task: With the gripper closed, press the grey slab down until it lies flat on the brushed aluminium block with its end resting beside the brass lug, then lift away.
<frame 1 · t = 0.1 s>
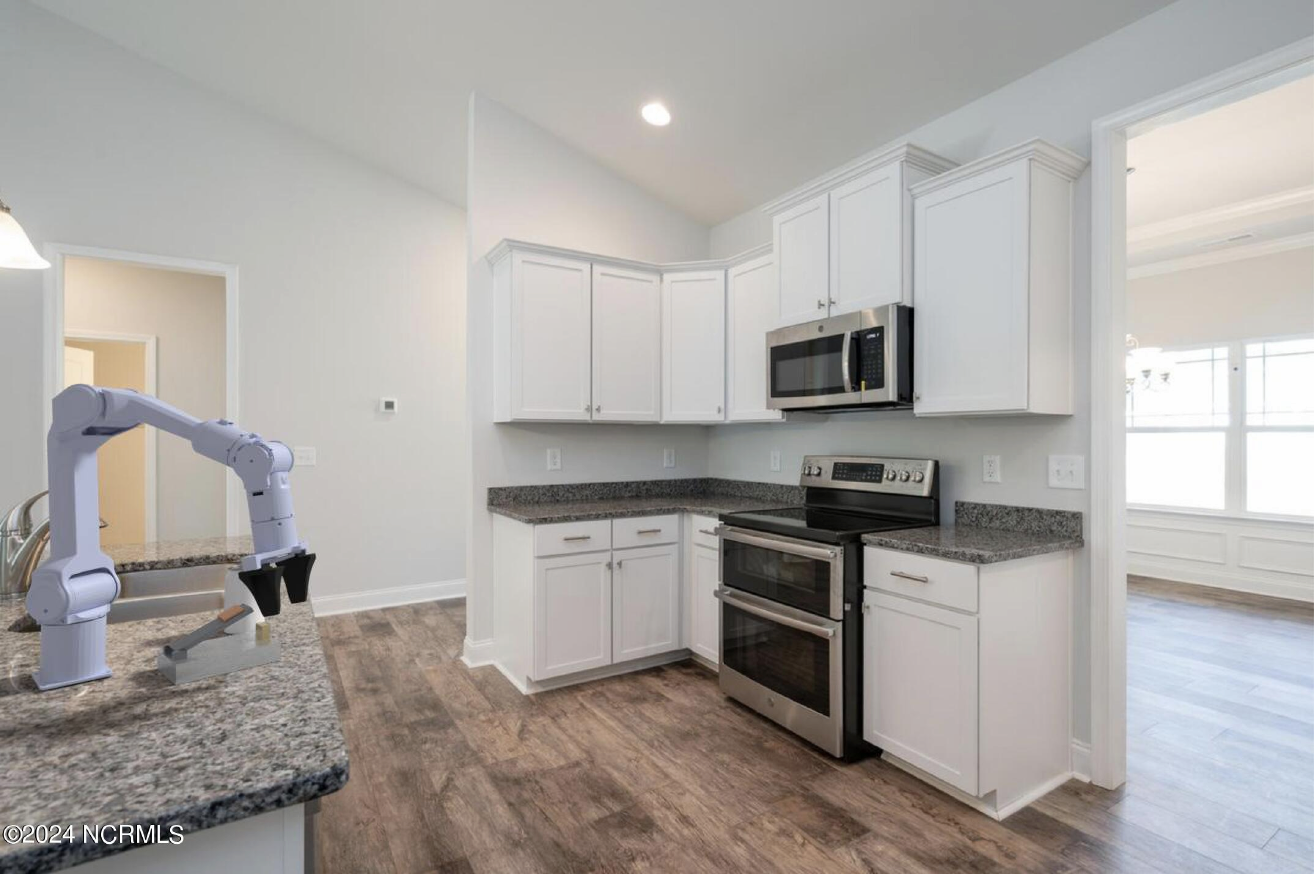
hand: (285, 608, 95), 11 cm above the counter, tool pointing down, fingers open, 7 cm apart
base block: (220, 664, 100), on the counter
grey slab: (211, 626, 99), point 6 cm above the counter, hinge at 25.0°, touching base block
can: (244, 631, 118), on the counter
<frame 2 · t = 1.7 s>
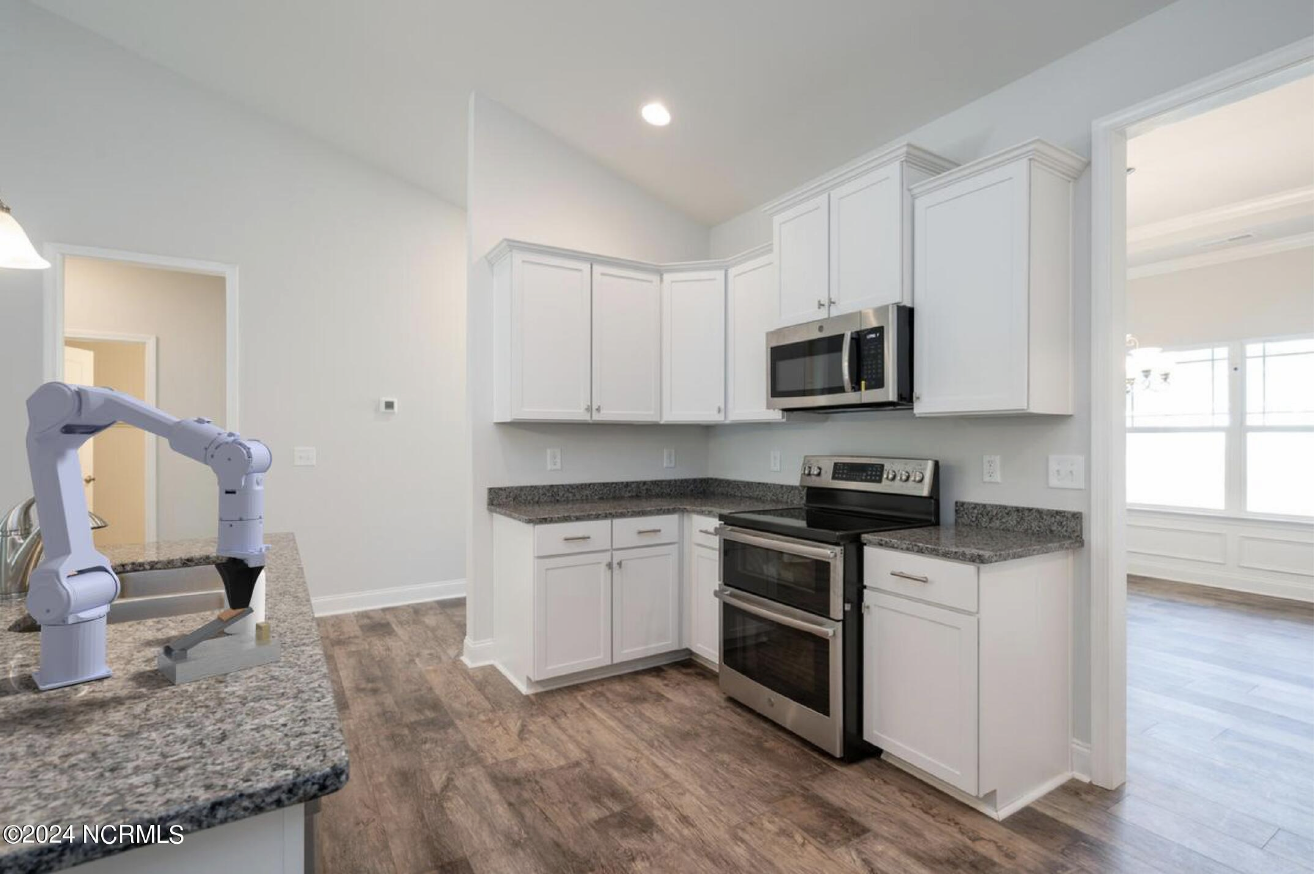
hand: (239, 608, 95), 10 cm above the counter, tool pointing down, fingers closed
nothing on the counter moved.
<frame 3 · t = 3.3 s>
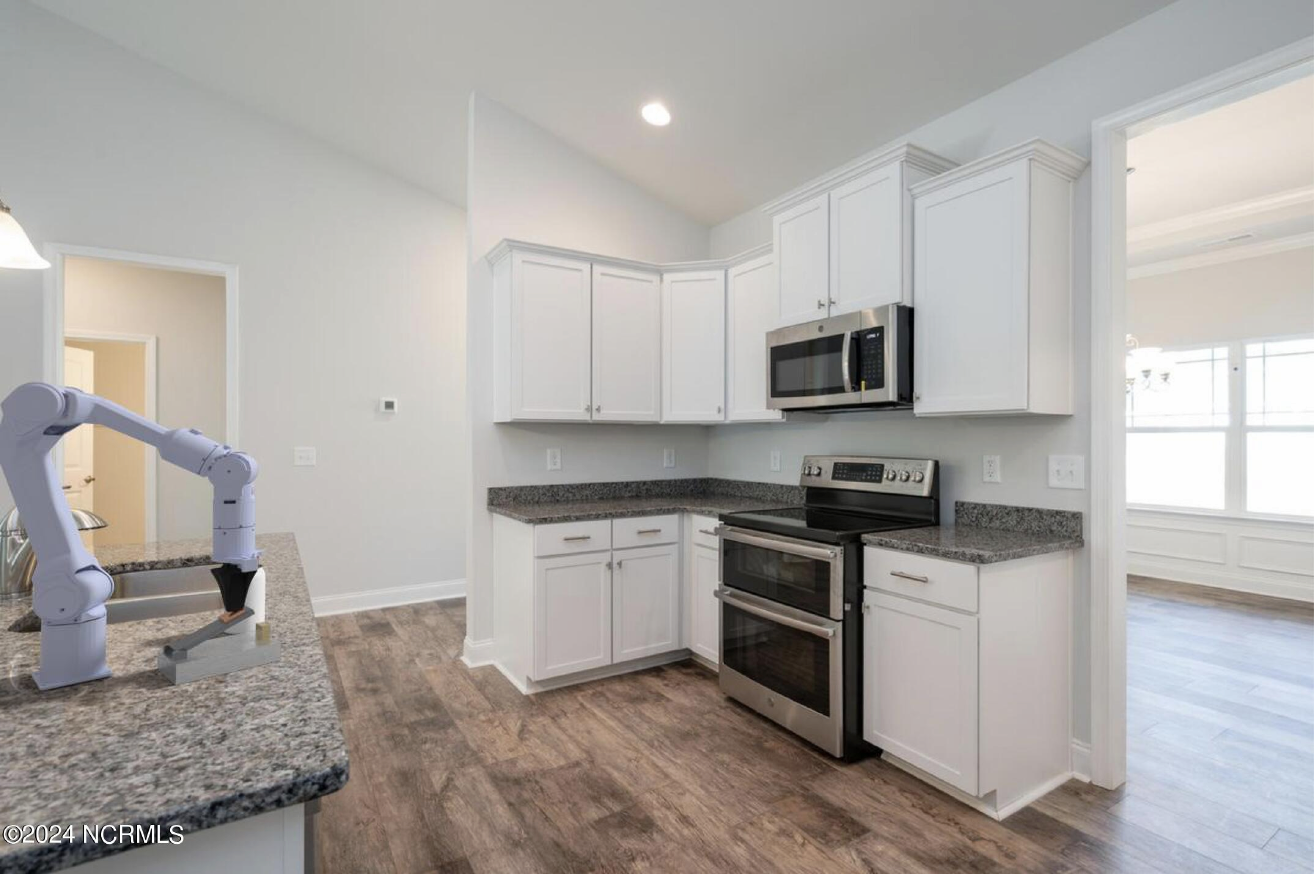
hand: (234, 610, 101), 8 cm above the counter, tool pointing down, fingers closed, pressing on grey slab
grey slab: (212, 627, 99), point 6 cm above the counter, hinge at 22.7°, touching base block, gripper
everything else where it was.
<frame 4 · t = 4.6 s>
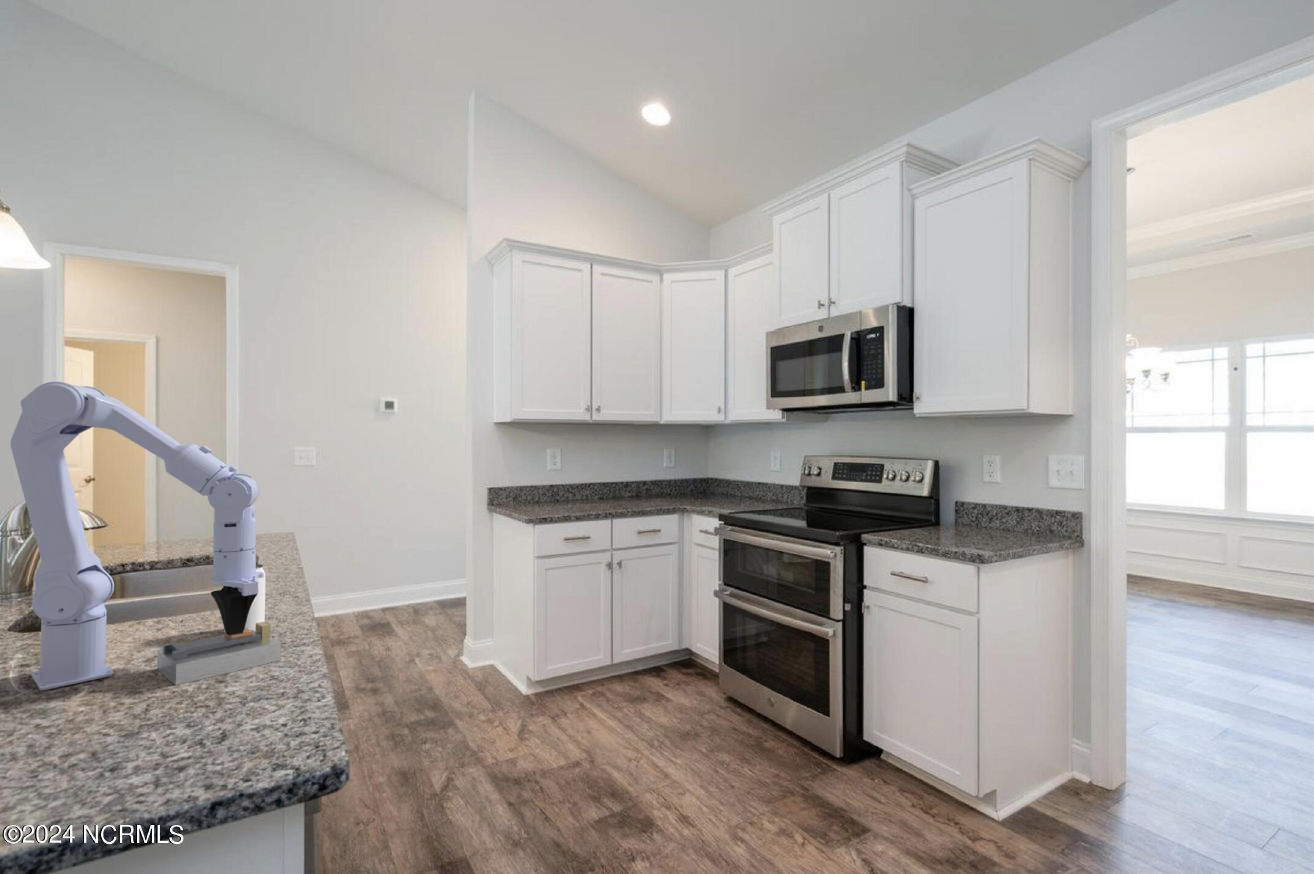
hand: (234, 633, 101), 5 cm above the counter, tool pointing down, fingers closed, pressing on grey slab
grey slab: (217, 640, 100), point 4 cm above the counter, hinge at -0.6°, touching base block, gripper
everything else where it was.
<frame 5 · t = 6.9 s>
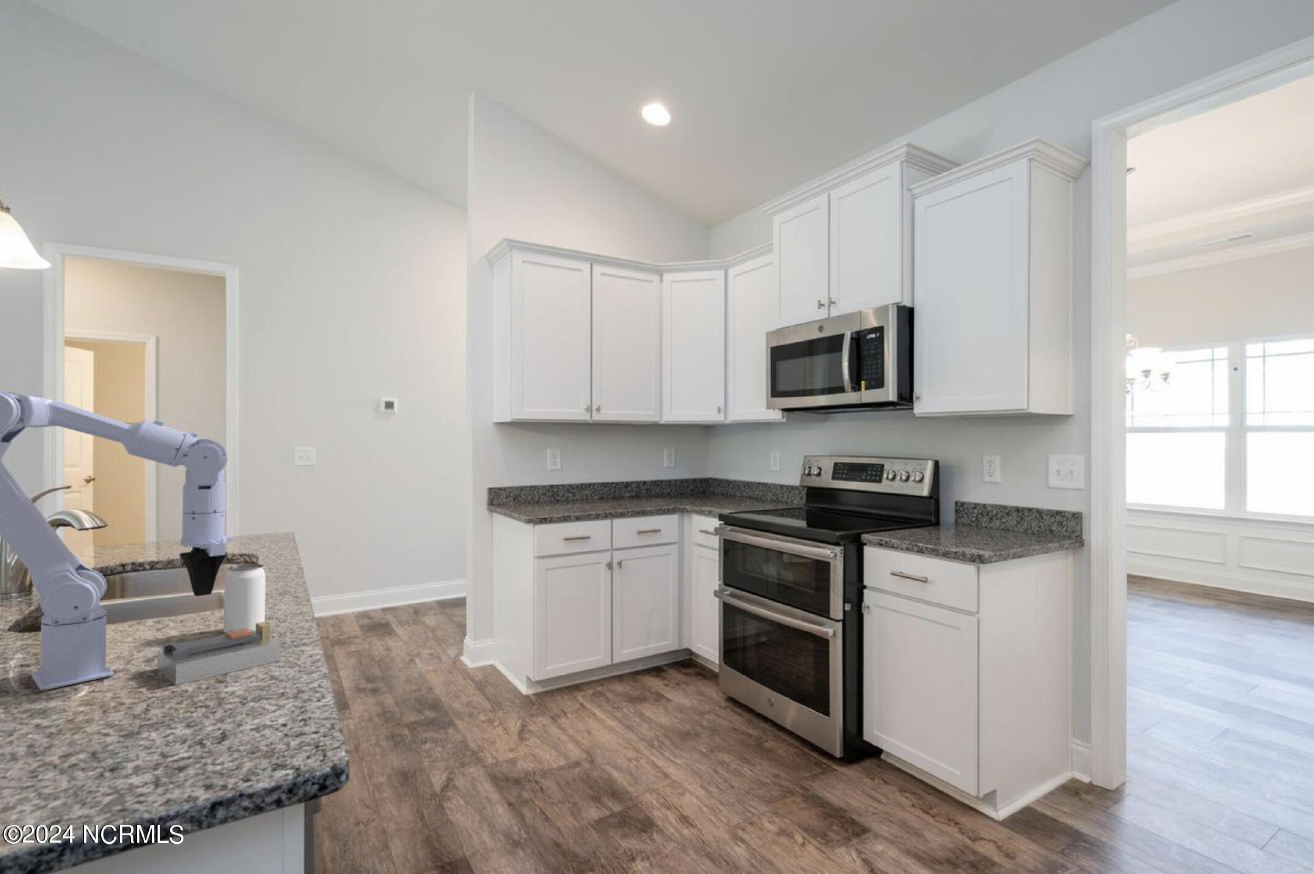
hand: (202, 594, 103), 10 cm above the counter, tool pointing down, fingers closed
grey slab: (217, 640, 100), point 4 cm above the counter, hinge at -0.6°, touching base block
everything else where it was.
at the end: grey slab at -1° (first picture: +25°); can moved 0.2 cm from its start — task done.
